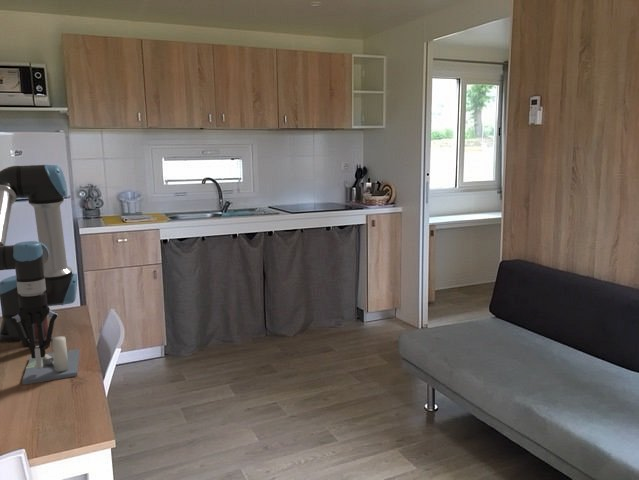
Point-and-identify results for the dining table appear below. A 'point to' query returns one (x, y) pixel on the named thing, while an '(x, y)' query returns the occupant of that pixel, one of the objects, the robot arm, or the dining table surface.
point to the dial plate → (51, 369)
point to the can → (45, 326)
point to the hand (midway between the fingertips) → (39, 367)
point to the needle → (58, 354)
